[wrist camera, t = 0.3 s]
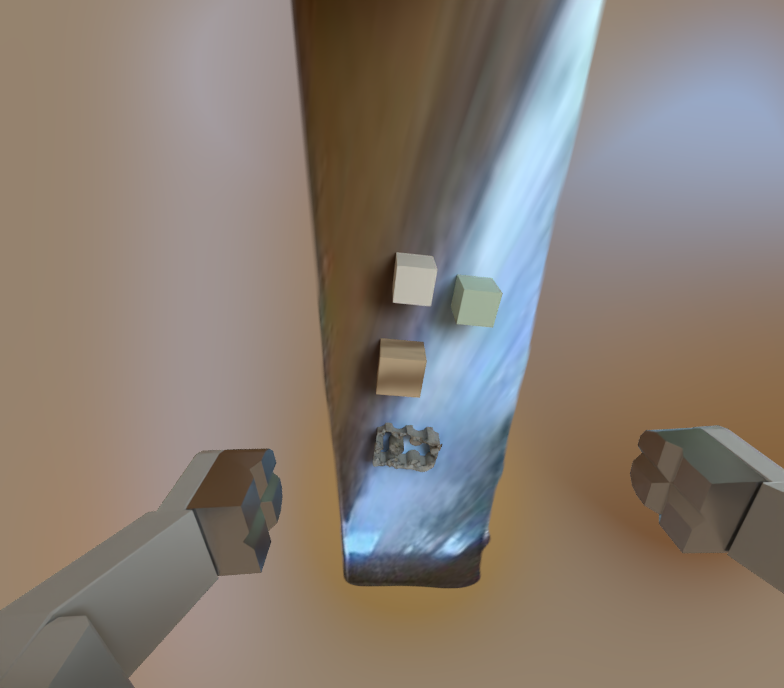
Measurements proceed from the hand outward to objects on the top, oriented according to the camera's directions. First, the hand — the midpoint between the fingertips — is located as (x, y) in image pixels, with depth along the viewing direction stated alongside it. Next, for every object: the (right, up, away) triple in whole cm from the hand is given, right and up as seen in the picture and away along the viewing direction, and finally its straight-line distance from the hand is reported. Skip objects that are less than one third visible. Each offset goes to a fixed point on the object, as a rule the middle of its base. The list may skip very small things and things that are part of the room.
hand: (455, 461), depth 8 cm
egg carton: (+1, -13, +53) cm, 55 cm away
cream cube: (+1, +12, +38) cm, 39 cm away
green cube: (+9, +9, +39) cm, 41 cm away
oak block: (0, +1, +44) cm, 44 cm away
